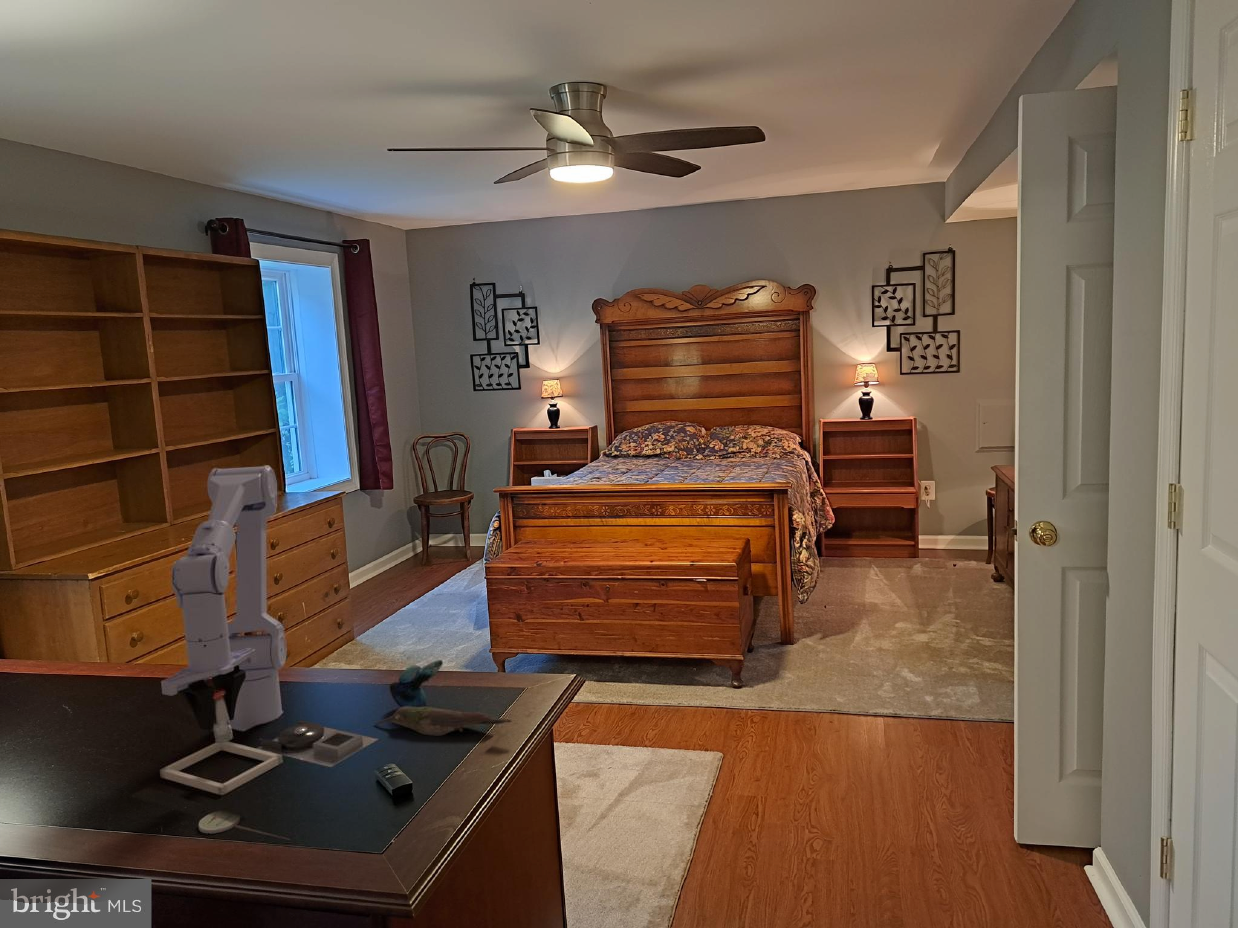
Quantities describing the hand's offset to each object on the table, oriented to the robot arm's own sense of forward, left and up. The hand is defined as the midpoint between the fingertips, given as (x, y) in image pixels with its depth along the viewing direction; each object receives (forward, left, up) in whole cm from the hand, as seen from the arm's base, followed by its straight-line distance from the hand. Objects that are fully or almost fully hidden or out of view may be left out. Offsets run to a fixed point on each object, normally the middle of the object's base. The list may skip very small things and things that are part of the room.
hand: (217, 723), depth 130 cm
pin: (+1, 0, -2) cm, 3 cm away
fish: (+13, +29, -9) cm, 33 cm away
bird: (+22, +24, -9) cm, 33 cm away
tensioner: (+7, +12, -8) cm, 16 cm away
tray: (0, 0, -8) cm, 8 cm away
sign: (+16, -9, -9) cm, 20 cm away
